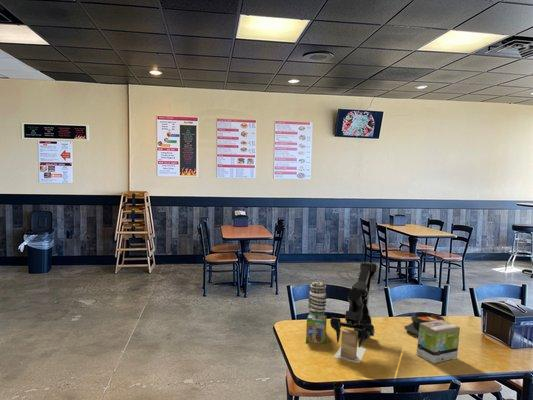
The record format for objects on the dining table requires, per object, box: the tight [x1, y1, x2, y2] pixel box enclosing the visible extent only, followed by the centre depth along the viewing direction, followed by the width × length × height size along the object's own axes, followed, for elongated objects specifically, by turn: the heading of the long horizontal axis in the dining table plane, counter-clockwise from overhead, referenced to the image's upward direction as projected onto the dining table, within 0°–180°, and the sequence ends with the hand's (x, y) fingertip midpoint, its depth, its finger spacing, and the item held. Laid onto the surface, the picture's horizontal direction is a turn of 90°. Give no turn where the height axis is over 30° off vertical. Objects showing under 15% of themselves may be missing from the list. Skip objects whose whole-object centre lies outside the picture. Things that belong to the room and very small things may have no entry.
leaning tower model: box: [307, 281, 328, 315], centre depth 201 cm, size 9×9×25 cm
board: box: [333, 346, 367, 364], centre depth 176 cm, size 16×11×1 cm
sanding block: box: [340, 327, 359, 360], centre depth 173 cm, size 4×6×11 cm, turn 66°
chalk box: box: [305, 309, 328, 345], centre depth 190 cm, size 9×9×15 cm
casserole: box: [403, 311, 446, 336], centre depth 208 cm, size 25×19×8 cm
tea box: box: [416, 319, 461, 364], centre depth 179 cm, size 15×10×15 cm, turn 117°
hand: (348, 344), depth 171 cm, fingers open, 9 cm apart
